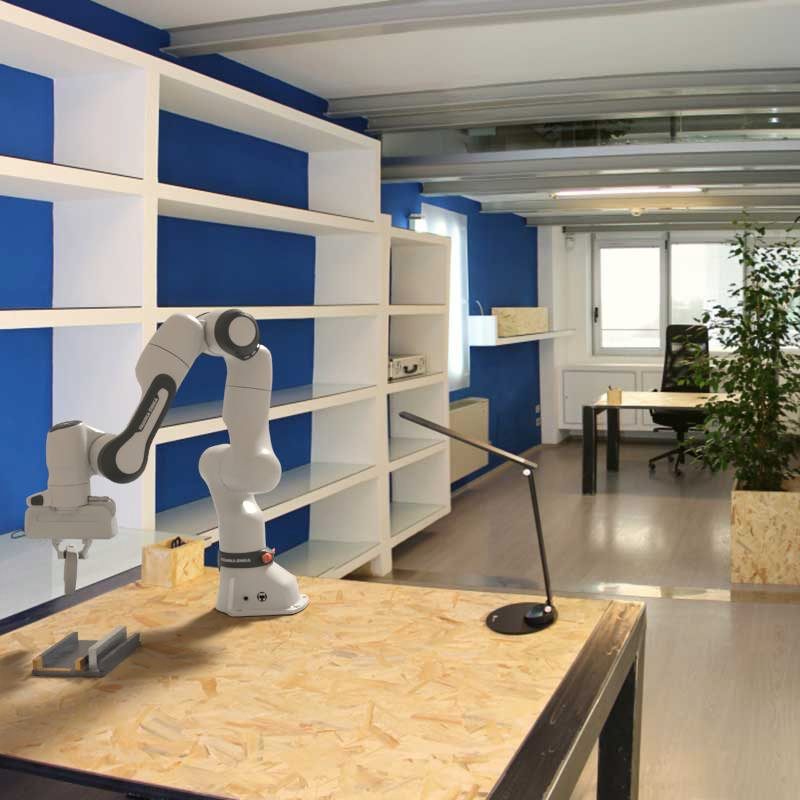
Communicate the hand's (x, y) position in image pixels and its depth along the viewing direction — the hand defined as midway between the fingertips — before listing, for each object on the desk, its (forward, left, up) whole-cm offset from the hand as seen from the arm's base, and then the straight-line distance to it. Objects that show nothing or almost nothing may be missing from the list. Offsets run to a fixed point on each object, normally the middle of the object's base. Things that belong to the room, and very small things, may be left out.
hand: (73, 558), depth 223 cm
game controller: (+1, +1, -6) cm, 6 cm away
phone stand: (-8, +12, -18) cm, 23 cm away
